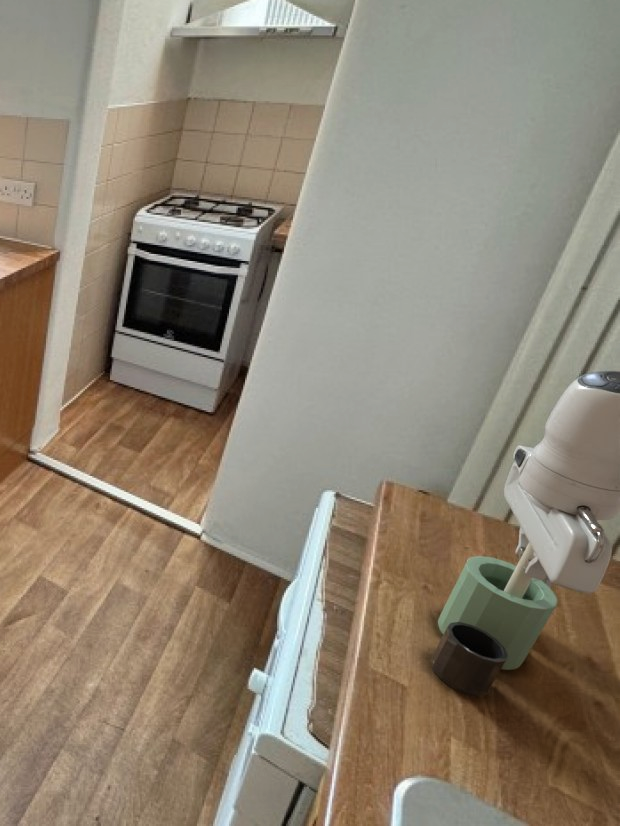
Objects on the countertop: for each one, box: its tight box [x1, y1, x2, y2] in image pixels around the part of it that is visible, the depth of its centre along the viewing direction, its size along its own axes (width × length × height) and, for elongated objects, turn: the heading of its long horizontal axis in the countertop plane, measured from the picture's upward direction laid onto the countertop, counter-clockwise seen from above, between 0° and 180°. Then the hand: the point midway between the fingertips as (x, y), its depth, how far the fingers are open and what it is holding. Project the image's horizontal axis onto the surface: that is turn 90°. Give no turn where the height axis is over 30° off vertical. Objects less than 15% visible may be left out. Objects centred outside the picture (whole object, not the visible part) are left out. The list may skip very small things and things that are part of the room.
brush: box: [504, 543, 535, 599], centre depth 84 cm, size 3×3×17 cm
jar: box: [437, 555, 559, 671], centre depth 88 cm, size 9×9×12 cm
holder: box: [430, 622, 508, 698], centre depth 83 cm, size 6×6×7 cm
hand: (528, 567), depth 83 cm, fingers closed on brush, 2 cm apart
